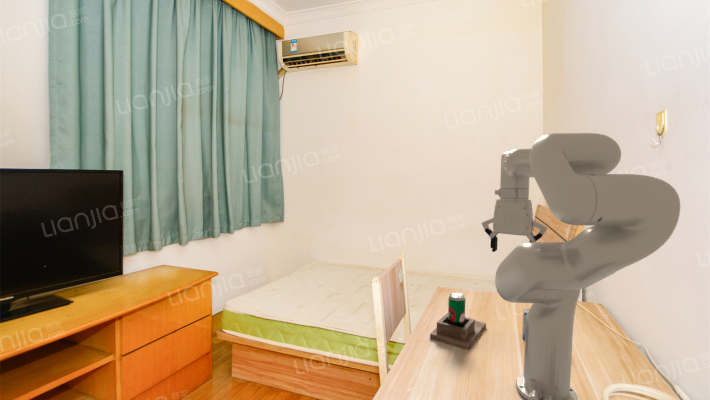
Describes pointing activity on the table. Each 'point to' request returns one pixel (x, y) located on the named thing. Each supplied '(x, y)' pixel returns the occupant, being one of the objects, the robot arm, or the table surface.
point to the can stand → (458, 332)
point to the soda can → (456, 309)
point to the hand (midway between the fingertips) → (511, 253)
